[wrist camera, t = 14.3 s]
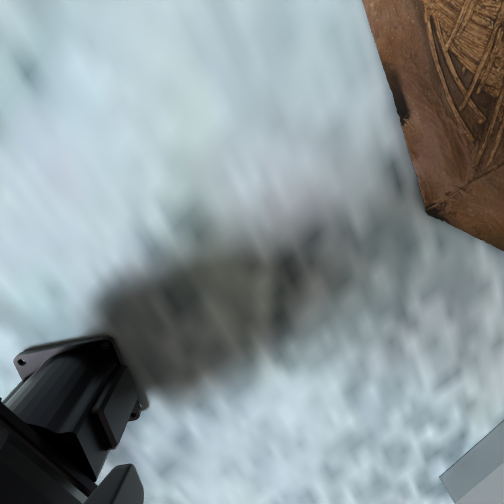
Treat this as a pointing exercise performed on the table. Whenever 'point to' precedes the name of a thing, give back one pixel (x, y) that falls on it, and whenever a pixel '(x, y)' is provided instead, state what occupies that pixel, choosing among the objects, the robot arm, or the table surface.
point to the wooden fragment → (449, 103)
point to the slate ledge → (479, 472)
